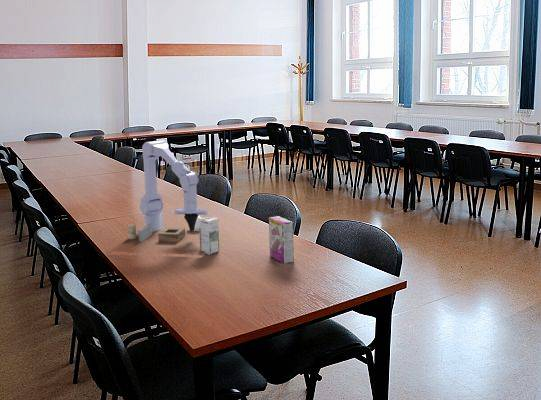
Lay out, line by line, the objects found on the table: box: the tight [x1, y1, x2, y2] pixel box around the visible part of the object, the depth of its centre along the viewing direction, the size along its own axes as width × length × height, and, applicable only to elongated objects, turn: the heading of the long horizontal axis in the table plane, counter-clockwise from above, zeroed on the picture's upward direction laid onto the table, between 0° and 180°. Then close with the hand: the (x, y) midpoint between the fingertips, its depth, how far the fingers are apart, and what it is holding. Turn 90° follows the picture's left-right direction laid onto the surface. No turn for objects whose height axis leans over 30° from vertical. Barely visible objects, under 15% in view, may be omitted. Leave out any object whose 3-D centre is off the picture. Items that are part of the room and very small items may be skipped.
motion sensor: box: [187, 215, 204, 232], centre depth 261 cm, size 8×8×8 cm
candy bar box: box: [268, 215, 295, 265], centre depth 218 cm, size 11×5×16 cm, turn 30°
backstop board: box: [138, 224, 153, 243], centre depth 248 cm, size 11×20×6 cm, turn 80°
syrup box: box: [199, 216, 220, 256], centre depth 229 cm, size 6×6×14 cm
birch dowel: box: [126, 223, 137, 240], centre depth 250 cm, size 4×4×7 cm
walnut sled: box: [157, 227, 186, 243], centre depth 247 cm, size 10×9×4 cm
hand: (192, 230), depth 245 cm, fingers closed
